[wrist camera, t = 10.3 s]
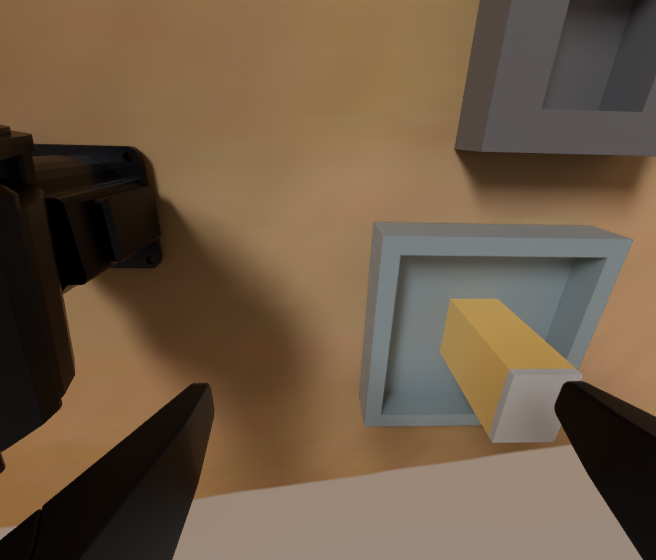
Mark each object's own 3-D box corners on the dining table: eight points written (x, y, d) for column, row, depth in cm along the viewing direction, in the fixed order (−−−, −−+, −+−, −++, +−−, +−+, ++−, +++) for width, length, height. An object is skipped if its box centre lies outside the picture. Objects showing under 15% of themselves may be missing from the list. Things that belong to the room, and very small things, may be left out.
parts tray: (359, 395, 24) (364, 426, 21) (373, 222, 19) (383, 235, 16) (530, 394, 24) (555, 424, 22) (590, 225, 19) (633, 239, 17)
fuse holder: (454, 149, 17) (481, 151, 14) (494, -83, 13) (539, -139, 11) (617, 153, 18) (673, 156, 15) (698, -72, 14) (792, -122, 11)
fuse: (439, 351, 22) (492, 442, 15) (450, 298, 20) (514, 375, 14) (483, 351, 22) (554, 442, 15) (497, 298, 20) (583, 375, 14)
